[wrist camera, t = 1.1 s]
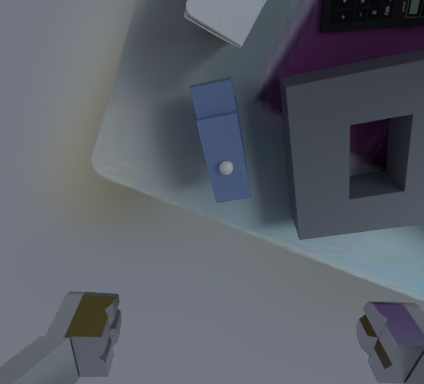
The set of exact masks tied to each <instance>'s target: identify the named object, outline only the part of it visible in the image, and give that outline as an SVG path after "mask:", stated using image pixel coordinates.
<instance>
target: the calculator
mask: <svg viewBox="0 0 424 384" xmlns="http://www.w3.org/2000/svg"><path fill="white" fill-rule="evenodd" d="M414 25H424V0H323V9H322V20H321V32H330V31H343V30H355V29H368V28H381V27H394V26H414Z"/></svg>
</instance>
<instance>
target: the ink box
mask: <svg viewBox="0 0 424 384" xmlns="http://www.w3.org/2000/svg"><path fill="white" fill-rule="evenodd" d="M266 1H267V0H187V2H186V10H185V13H184V18H186V19H188V20H189V21H191V22H193V23H195V24H196V25H198V26H200V27H201V28H203V29H205V30H206V31H208V32H210V33H212V34H213V35H215V36H217V37H219V38H221V39H223V40H224V41H226V42H228V43H230V44H233V45H235V46H237V47H242V45H243V43H244V42H245V40H246V38H247V36H248V34H249V32H250V30H251V29H252V27H253V25H254V23H255V21H256V19H257V17H258V15H259V14H260V12H261V10H262V8H263V6H264V4H265V2H266Z"/></svg>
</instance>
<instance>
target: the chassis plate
mask: <svg viewBox="0 0 424 384" xmlns="http://www.w3.org/2000/svg"><path fill="white" fill-rule="evenodd" d="M279 86H280V96H281V106H282V116H283V126H284V136H285V146H286V157H287V167H288V177H289V187H290V197H291V207H292V217H293V220H294V224H295V227H296V230H297V234H298V237H299V240H302V239H310V238H317V237H325V236H333V235H340V234H348V233H356V232H363V231H371V230H379V229H386V228H394V227H402V226H409V225H417V224H424V48H420V49H415V50H410V51H405V52H400V53H395V54H390V55H386V56H381V57H376V58H371V59H366V60H361V61H356V62H351V63H346V64H342V65H337V66H332V67H327V68H322V69H317V70H312V71H307V72H303V73H298V74H293V75H288V76H283V77H279ZM388 118H389V131H388V145H387V158H386V171H385V172H379V173H372V174H366V175H359V176H353V177H350V125H354V124H360V123H366V122H371V121H377V120H382V119H388Z"/></svg>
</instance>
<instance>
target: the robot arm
mask: <svg viewBox="0 0 424 384" xmlns="http://www.w3.org/2000/svg"><path fill="white" fill-rule="evenodd" d="M119 302H120V301H119V295H118V294H112V293H111V294H110V293H96V292H73V291H70V292H69V293H68V294H67V295H66V296H65V298H64V300H63V302H62V304H61V306H60V307H59V310H58V312H57V313H56V315H55V317H54V319H53V321H52V323H51V325H50V327H49V329H48V331H47V333H46V335H45V337H38V338H37V339H36V340H35V341H33V342H32V343H31V344H29V345H28V346H27V347H25V348H24V349H23V350H21V351H20V352H19V353H17V354H16V355H15V356H14V357H12V358H11V359H10V360H8V361H7V362H6V363H4V364H3V365H2V366H0V384H74V383H75V382H76V381H77V380H78V379H79V377H90V376H91V377H99V376H108V374H109V370H110V367H111V363H112V359H113V356H114V354H113V346H114V344H116V343H117V341H118V338H119V334H120V327H121V312H120V310H119V309H118V305H119ZM363 310H364V312H365V315H364V316H362V317H361V318H360V319H359V320H358V323H357V338H358V341H359V343H360V346H361V348H362V349H363V350H364V351H365V352H366V353H368V354H369V359H368V363H369V365H370V367H371V369H372V371H373V374H374V376H375V377H376V380H377V382H381V383H401V384H424V312H423V311H422V310H421V308H420V307H419V306H418V305H417V304H415V303H396V302H368V303H367V304H365V307H364V309H363Z"/></svg>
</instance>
